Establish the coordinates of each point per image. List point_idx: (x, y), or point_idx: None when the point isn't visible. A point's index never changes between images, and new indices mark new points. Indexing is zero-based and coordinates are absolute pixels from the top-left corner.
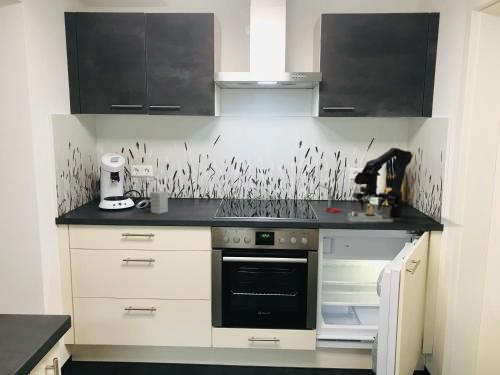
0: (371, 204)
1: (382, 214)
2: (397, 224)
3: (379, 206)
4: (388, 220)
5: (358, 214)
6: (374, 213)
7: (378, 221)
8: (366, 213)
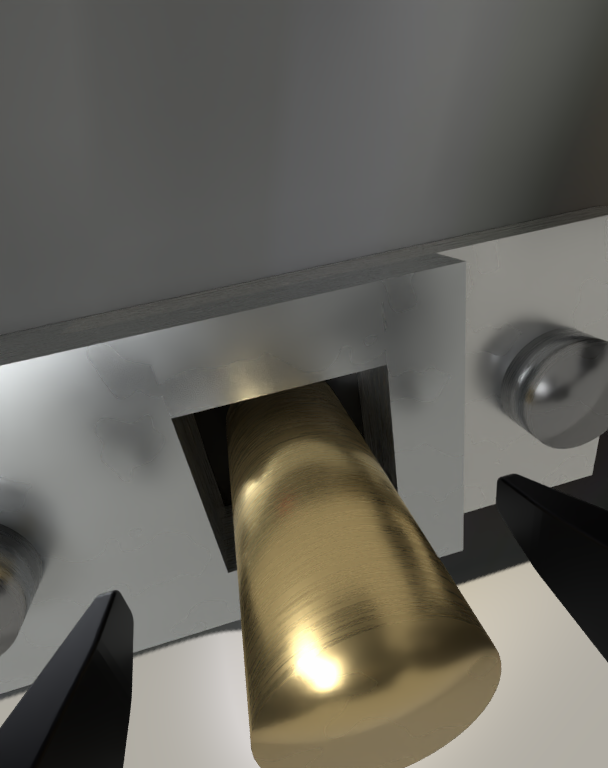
0: (415, 693)
1: (547, 379)
2: None
3: (591, 633)
4: None
5: (53, 522)
6: (422, 326)
7: None
8: (231, 495)
